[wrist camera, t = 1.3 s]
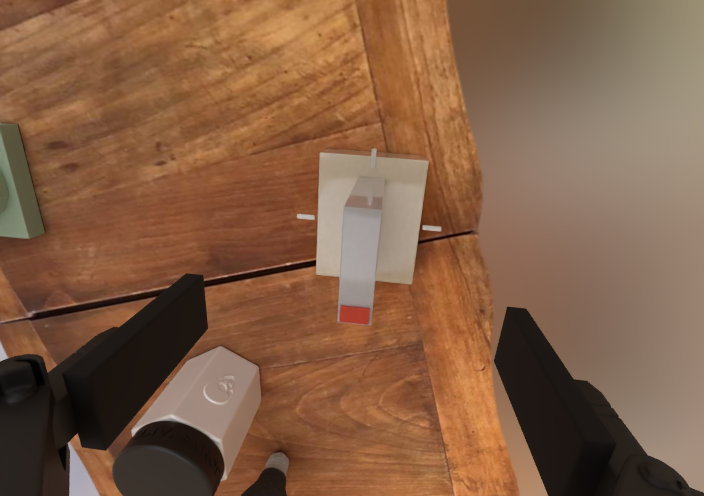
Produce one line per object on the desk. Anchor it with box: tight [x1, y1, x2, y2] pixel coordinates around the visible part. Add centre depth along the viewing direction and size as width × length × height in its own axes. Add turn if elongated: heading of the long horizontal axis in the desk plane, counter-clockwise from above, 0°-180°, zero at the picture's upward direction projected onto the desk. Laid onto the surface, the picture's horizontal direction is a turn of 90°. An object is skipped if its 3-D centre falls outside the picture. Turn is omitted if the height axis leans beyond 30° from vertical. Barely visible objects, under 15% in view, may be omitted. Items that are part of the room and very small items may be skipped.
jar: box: [112, 346, 262, 496], centre depth 34 cm, size 9×8×12 cm
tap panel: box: [297, 148, 441, 284], centre depth 30 cm, size 11×11×3 cm
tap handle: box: [337, 176, 385, 326], centre depth 24 cm, size 7×2×9 cm, turn 176°
